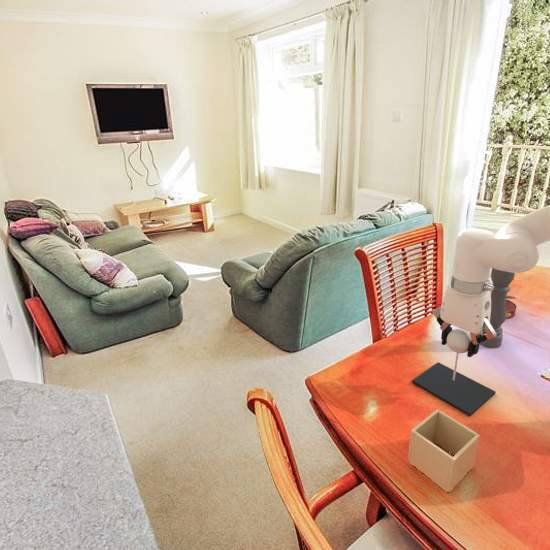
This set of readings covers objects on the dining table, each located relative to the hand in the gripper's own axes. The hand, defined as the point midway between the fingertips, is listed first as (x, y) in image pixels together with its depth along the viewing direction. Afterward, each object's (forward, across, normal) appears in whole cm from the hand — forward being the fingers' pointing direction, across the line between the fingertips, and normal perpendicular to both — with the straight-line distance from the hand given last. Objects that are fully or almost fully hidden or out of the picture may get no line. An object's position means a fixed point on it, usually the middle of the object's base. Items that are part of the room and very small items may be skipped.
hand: (458, 348), depth 93 cm
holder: (+13, -11, +23) cm, 28 cm away
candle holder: (+13, +4, -27) cm, 30 cm away
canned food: (+13, +11, -47) cm, 50 cm away
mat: (+13, 0, 0) cm, 13 cm away
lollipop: (+10, 0, 0) cm, 10 cm away
